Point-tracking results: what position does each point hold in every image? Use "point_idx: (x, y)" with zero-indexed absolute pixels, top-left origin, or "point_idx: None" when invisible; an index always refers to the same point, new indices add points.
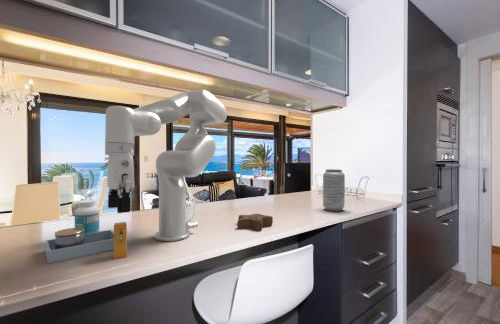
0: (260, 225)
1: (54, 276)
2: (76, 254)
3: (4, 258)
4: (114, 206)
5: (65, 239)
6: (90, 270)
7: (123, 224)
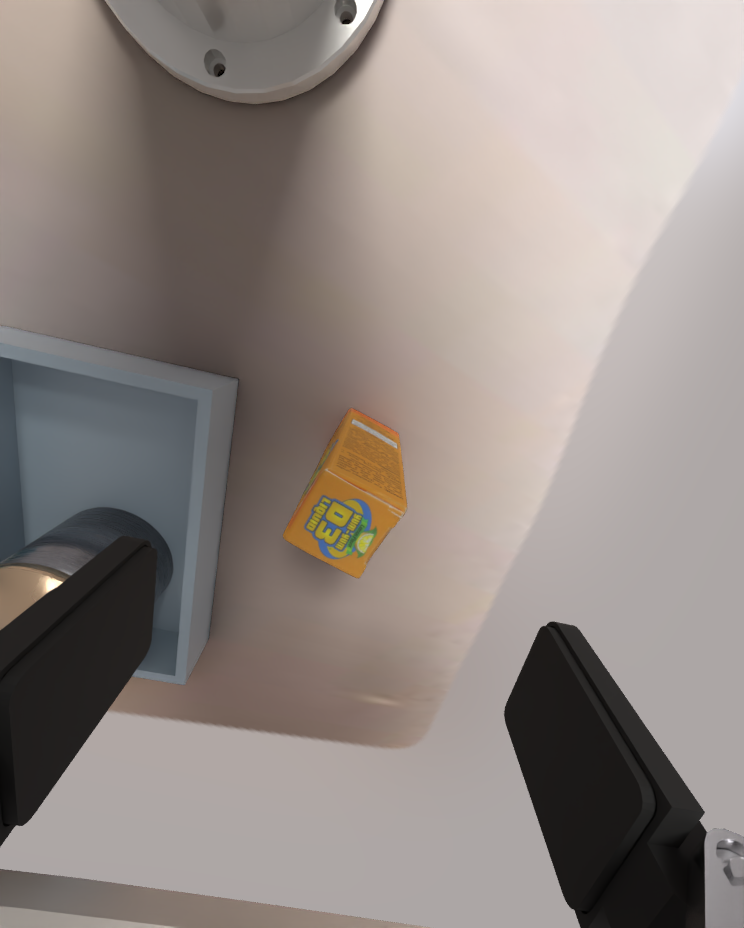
0: None
1: (340, 653)
2: (210, 574)
3: None
4: (146, 606)
5: None
6: (392, 574)
7: (394, 526)
